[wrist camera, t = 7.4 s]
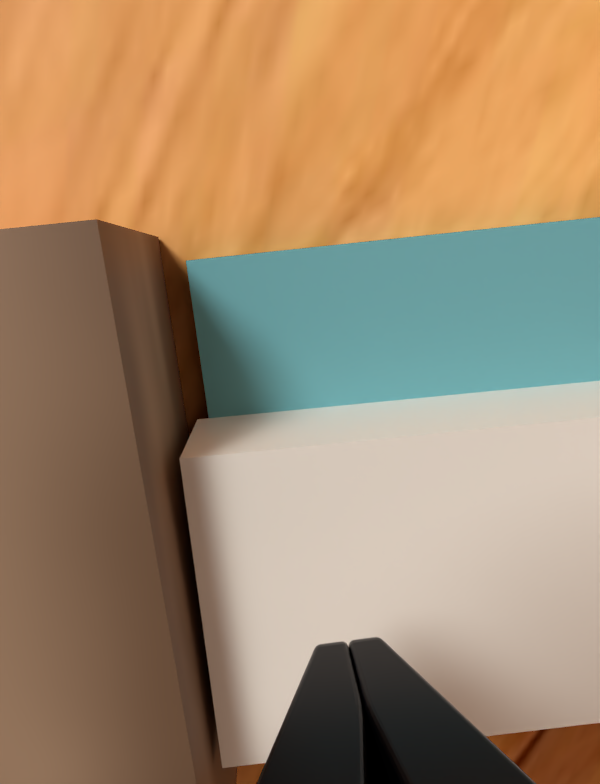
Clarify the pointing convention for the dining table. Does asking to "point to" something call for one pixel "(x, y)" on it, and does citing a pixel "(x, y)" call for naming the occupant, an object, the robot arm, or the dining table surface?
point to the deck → (96, 520)
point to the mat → (399, 318)
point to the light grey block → (403, 552)
